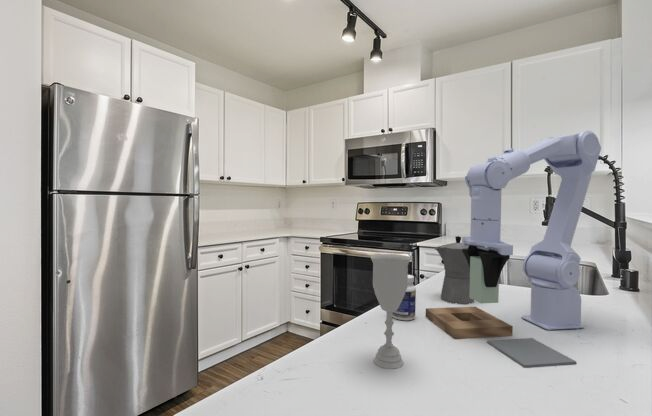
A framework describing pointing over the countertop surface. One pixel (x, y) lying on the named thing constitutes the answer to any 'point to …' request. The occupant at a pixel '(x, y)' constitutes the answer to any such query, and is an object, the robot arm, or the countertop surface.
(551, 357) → the slate mat
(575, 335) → the countertop surface
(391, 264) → the chalice
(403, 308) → the pill bottle
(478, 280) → the sage block
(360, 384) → the countertop surface
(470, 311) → the pocket holder
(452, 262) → the coffeepot
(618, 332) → the countertop surface
